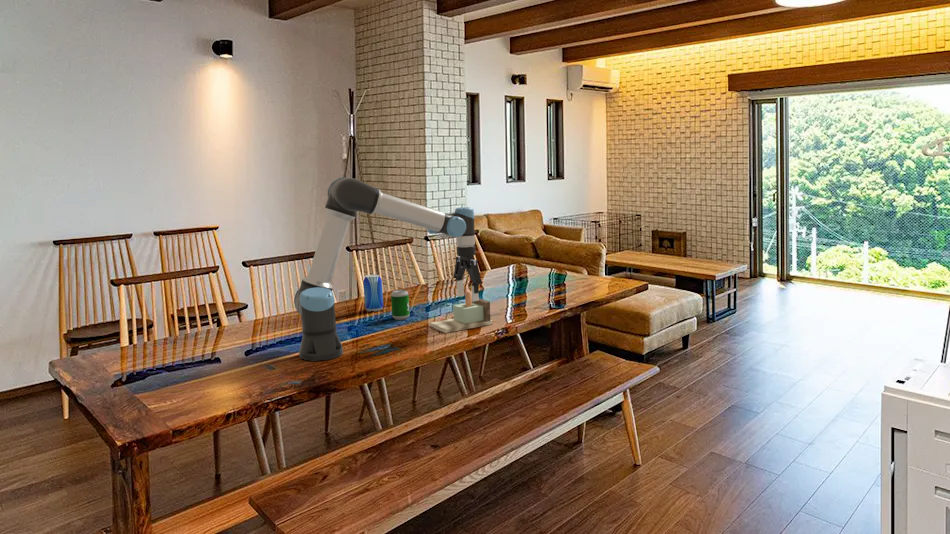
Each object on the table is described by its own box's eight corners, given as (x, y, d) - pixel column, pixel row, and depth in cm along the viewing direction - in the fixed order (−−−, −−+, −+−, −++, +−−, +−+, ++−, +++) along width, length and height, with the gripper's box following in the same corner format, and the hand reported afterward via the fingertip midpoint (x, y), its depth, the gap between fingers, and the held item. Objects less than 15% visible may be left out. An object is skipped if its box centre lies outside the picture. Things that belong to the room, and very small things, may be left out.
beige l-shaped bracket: (445, 333, 250) (444, 309, 248) (430, 326, 261) (429, 303, 259) (492, 324, 261) (491, 301, 259) (476, 317, 272) (475, 296, 270)
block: (464, 323, 256) (464, 309, 255) (453, 319, 264) (453, 305, 263) (483, 320, 261) (483, 305, 260) (472, 316, 268) (472, 302, 267)
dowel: (467, 321, 261) (467, 292, 258) (464, 320, 263) (464, 291, 260) (473, 320, 262) (472, 292, 260) (470, 319, 264) (469, 290, 262)
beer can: (364, 308, 297) (361, 275, 294) (381, 307, 299) (379, 273, 297) (366, 312, 289) (364, 278, 286) (384, 310, 291) (382, 276, 289)
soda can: (406, 320, 272) (405, 292, 270) (389, 320, 274) (388, 292, 272) (411, 316, 279) (410, 289, 277) (395, 315, 281) (394, 289, 279)
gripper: (489, 247, 249) (491, 302, 253) (459, 242, 269) (461, 292, 273) (472, 249, 245) (474, 304, 249) (443, 243, 266) (446, 294, 269)
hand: (467, 298), depth 261 cm, fingers open, 11 cm apart
